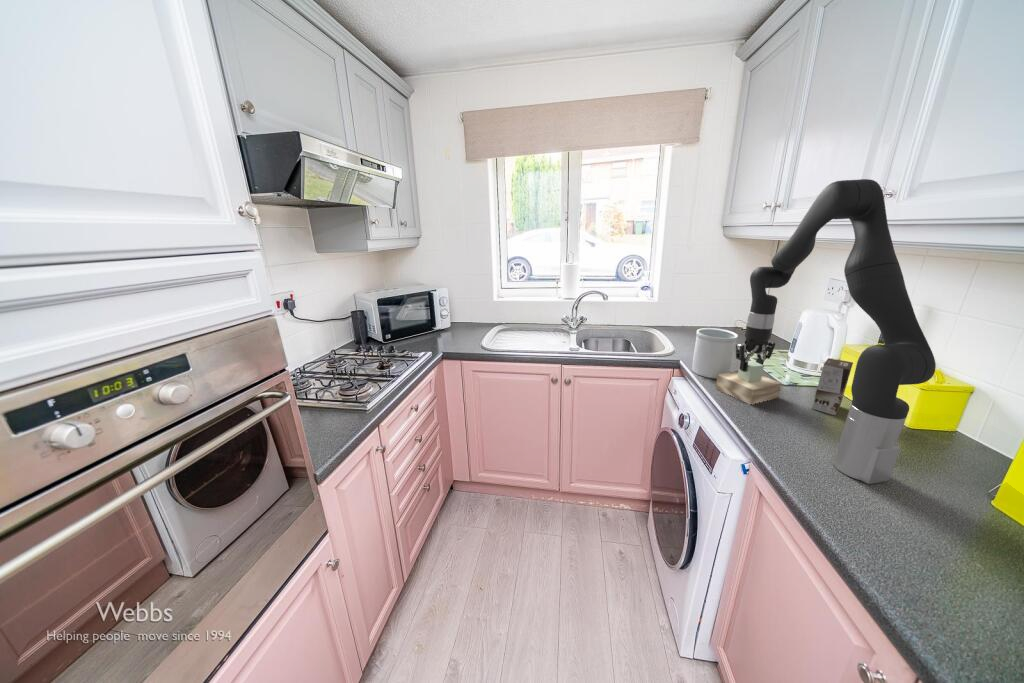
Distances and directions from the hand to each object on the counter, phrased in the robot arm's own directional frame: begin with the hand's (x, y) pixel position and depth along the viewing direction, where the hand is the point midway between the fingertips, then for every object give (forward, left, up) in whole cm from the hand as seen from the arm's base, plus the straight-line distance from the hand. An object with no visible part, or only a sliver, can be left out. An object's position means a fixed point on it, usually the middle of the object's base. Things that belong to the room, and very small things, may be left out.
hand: (750, 370), depth 126 cm
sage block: (0, 0, -3) cm, 3 cm away
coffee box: (-15, -17, -9) cm, 25 cm away
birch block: (0, 0, -9) cm, 9 cm away
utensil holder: (+20, -1, -9) cm, 22 cm away
